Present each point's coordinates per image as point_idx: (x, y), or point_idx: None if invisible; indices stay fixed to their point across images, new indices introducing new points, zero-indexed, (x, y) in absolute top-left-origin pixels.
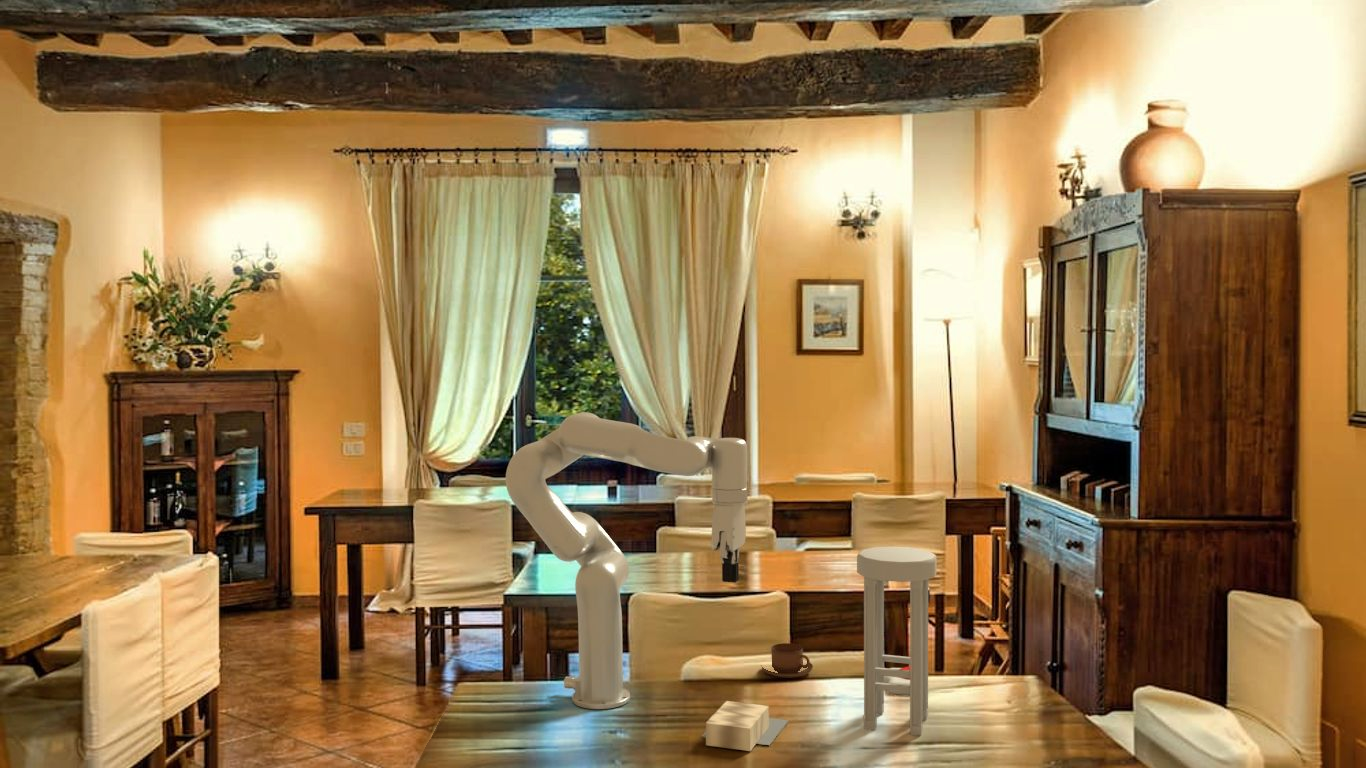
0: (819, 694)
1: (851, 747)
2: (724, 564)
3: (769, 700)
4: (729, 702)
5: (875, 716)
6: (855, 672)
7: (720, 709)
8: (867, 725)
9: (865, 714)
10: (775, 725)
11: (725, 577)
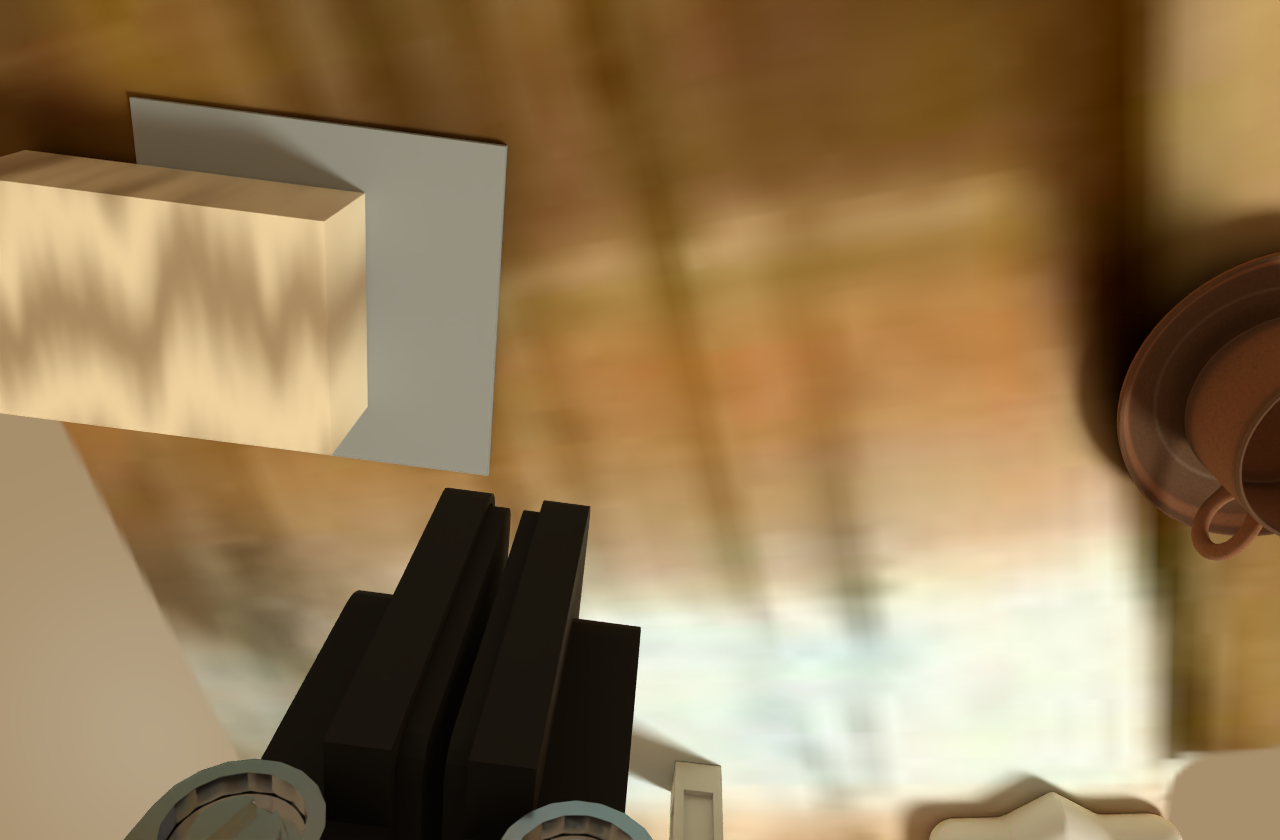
0: (895, 566)
1: None
2: (340, 769)
3: (769, 351)
4: (304, 242)
5: None
6: (1249, 693)
7: (174, 213)
8: None
9: None
10: (403, 429)
11: (357, 600)
